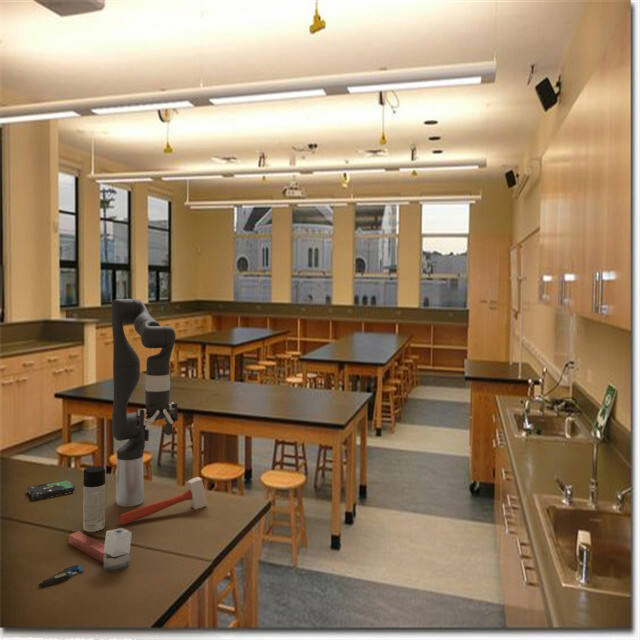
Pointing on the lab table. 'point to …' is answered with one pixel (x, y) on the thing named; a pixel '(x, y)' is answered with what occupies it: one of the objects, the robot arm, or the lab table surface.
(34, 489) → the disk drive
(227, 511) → the lab table surface
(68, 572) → the micrometer
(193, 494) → the mallet
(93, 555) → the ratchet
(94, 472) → the spray can
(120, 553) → the cube with square hole
